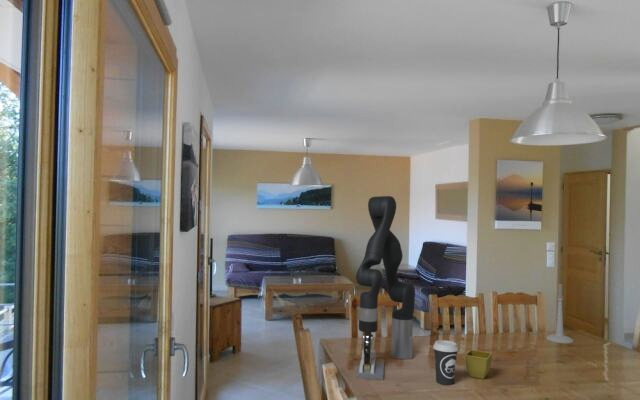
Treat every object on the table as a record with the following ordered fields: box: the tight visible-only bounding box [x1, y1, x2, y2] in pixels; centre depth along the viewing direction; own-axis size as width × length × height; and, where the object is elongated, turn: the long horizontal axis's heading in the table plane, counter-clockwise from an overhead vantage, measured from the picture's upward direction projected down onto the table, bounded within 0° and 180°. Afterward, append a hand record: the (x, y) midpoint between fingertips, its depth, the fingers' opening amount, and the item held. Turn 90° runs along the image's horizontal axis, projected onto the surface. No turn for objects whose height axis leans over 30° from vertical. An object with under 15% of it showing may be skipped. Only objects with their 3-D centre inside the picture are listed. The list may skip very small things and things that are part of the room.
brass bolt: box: [364, 348, 372, 371], centre depth 194 cm, size 3×8×8 cm, turn 171°
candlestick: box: [545, 283, 574, 344], centre depth 253 cm, size 13×13×30 cm
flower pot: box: [464, 349, 493, 380], centre depth 192 cm, size 9×9×9 cm
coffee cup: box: [432, 339, 460, 386], centre depth 184 cm, size 10×10×15 cm
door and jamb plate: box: [356, 348, 385, 380], centre depth 196 cm, size 10×21×6 cm, turn 171°
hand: (367, 361), depth 191 cm, fingers closed on brass bolt, 3 cm apart
